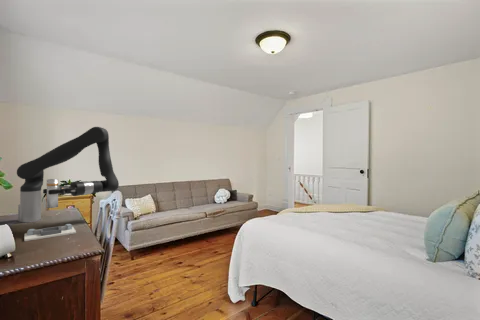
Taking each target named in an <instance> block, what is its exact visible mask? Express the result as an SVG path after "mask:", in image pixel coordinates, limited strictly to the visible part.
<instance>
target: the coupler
mask: <svg viewBox="0 0 480 320" xmlns="http://www.w3.org/2000/svg"><path fill="white" fill-rule="evenodd" d="M58 187H59V178H49V179H48V178H47V179H46V189H47V193H46V208H47V209H54V208H55V209H56V208H59V194H51V195H50V194H48V191H49V190H54V189H58Z"/></svg>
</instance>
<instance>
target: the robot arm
mask: <svg viewBox="0 0 480 320" xmlns="http://www.w3.org/2000/svg"><path fill="white" fill-rule="evenodd" d="M109 138H110V136H109V131H108V130H107V128H104V127H101V126H93V127H91V128H89V129H88V130H86V131H85V132H83V133H82V134H80V135H79V136H77V137H75V138H73V139H71V140H68V141H67V142H65V143H62V144H60V145H58V146H56V147H54V148H52V149H51V150H49V151H47V152H46V153H44V154H43V155H41V156H39V157H36V158H34V159H32V160H30V161H28V162H25V163H23V164H21V165H19V166H18V167H17V169H16V175H17V177H18V178H20V179H22V180H24V183H23V184H22V185H21V186H20V187H19V188H20V190H19V191H20V195H19V200H20V201H19V204H18V205H17V206H18V209H17V210H18V213H17V214H18V215H17V218H18V219H17V222H19V223H30V222H31V223H32V222H37V221H41V219H42V218H41V217H42V193H43V194H46V195H47V188H44V189H43V190H42V186H43V184H44V175H45V172H44V170H47V169H48V168H52V167H54V166H57V165H61V164H63V163H65V162H67V161H69V160H71V159H73V158H74V157H77V155H79V154H80V153H81V152H82V151H83V150H84V149H86V148H88V147H89V146H91V145H95V144H96V146H97V149H98V150H97V151H98V166H99V172H100V175H101V177H104V178H105V179H104V180H90V181H87V180H85V181H84V180H82V181H73V182H71V183H70V184H69V185H64V186H62V185H61V186H58V189H54V190H49V191H48V194H50V195H51V194H58V195H60V194H61V195H68V194H69V195H71V196H73V197H77V196H79V197H80V196H85V195H91V194H96V193H97V194H98V193H105V192H113V191H117V190H118V188H119V183H120V182H119V180H118V178H117V175H116V174H115V171H114V167H113V163H112V159H111V153H110V152H111V151H110V141H109Z"/></svg>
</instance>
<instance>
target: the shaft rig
mask: <svg viewBox="0 0 480 320" xmlns="http://www.w3.org/2000/svg"><path fill="white" fill-rule="evenodd" d="M75 234H77V230H76V228H75V227H74V226H73V224H71V223H66V224H65V225H59V226H52V227H44V228H39V229H35V228H29V229H27V232H25V233H24V237H23V238H24V242H29V241H35V240H36V241H37V240H42V239H48V238H55V237H62V236H68V235H75Z"/></svg>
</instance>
